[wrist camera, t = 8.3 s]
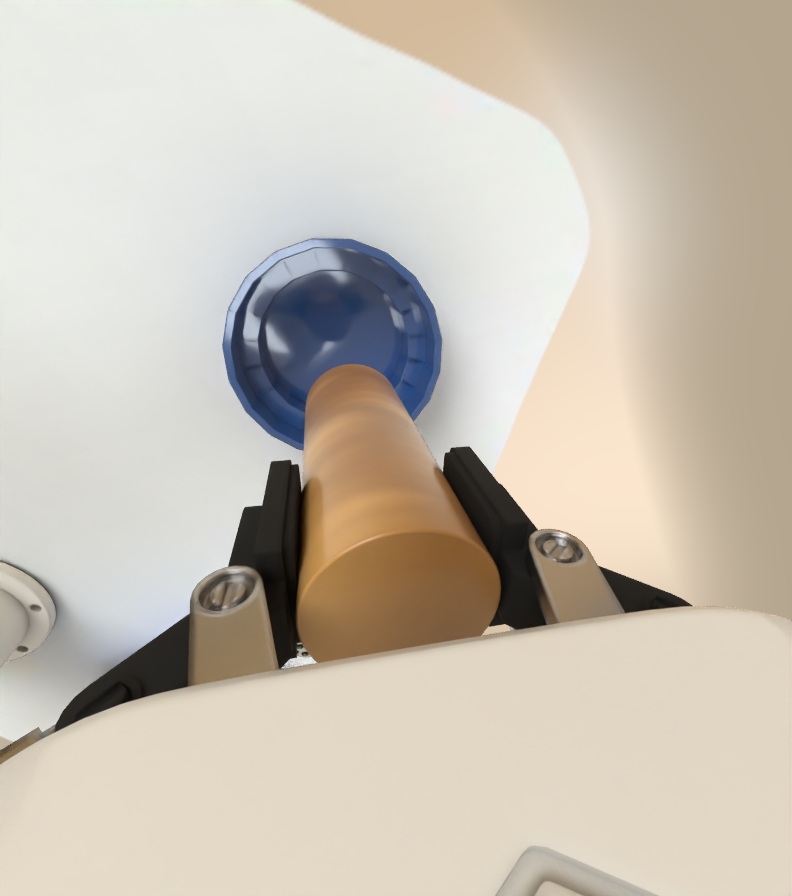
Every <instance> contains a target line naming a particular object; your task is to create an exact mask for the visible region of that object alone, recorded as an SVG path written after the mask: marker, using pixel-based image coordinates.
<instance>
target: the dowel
mask: <svg viewBox="0 0 792 896" xmlns="http://www.w3.org/2000/svg"><path fill="white" fill-rule="evenodd" d="M500 595H501V580H500V575H499V571H498V568H497V566H496V564H495V562H494V560H493V558H492V557H491V555H490V553H489V551H488V550H487V548H486V546H485V545H484V543H483V541H482V539H481V538H480V536H479V534H478V533H477V531H476V529H475V527H474V526H473V524H472V522H471V520H470V519H469V517H468V515H467V514H466V512H465V510H464V508H463V507H462V505H461V503H460V501H459V500H458V498H457V496H456V495H455V493H454V491H453V489H452V488H451V486H450V484H449V482H448V481H447V479H446V477H445V476H444V474H443V472H442V470H441V469H440V467H439V465H438V464H437V462H436V460H435V458H434V457H433V455H432V453H431V451H430V450H429V448H428V446H427V445H426V443H425V441H424V439H423V438H422V436H421V434H420V432H419V431H418V429H417V427H416V426H415V424H414V422H413V420H412V419H411V417H410V415H409V413H408V412H407V410H406V408H405V407H404V405H403V403H402V401H401V400H400V398H399V396H398V395H397V393H396V391H395V389H394V388H393V386H392V384H391V383H390V382H389V380H388V379H387V378H386V377H385V376H384V375H383V374H381V373H380V372H378V371H377V370H375V369H373V368H371V367H368V366H364V365H359V364H347V365H341V366H338V367H335V368H332V369H330V370H329V371H327V372H325V373H324V374H323V375H321V376H320V377H319V378H318V379H317V380H316V381H315V383H314V384H313V385H312V387H311V389H310V391H309V393H308V396H307V400H306V408H305V429H304V450H303V472H302V497H301V519H300V540H299V562H298V584H297V598H296V629H297V632H298V636H299V639H300V641H301V643H302V645H303V647H304V648H305V650H306V651H307V652H308V654H309V655H310V656H311V657H312V658H313V659H314V660H315V661H316V662H318V663H321V662H327V661H332V660H338V659H344V658H350V657H356V656H362V655H368V654H374V653H379V652H385V651H391V650H397V649H404V648H410V647H416V646H422V645H428V644H434V643H440V642H446V641H452V640H458V639H464V638H470V637H477V636H481V635H482V634H483V633H484V631H485V630H486V629H487V627H488V626H489V624H490V623H491V621H492V619H493V618H494V616H495V613H496V611H497V609H498V605H499V601H500Z"/></svg>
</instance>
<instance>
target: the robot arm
mask: <svg viewBox="0 0 792 896" xmlns="http://www.w3.org/2000/svg"><path fill="white" fill-rule="evenodd" d="M443 474H444V476H445V477H446V479H447V481H448V482H449V484H450V486H451V488H452V489H453V491H454V493H455V495H456V496H457V498H458V500H459V501H460V503H461V505H462V507H463V508H464V510H465V512H466V514H467V515H468V517H469V519H470V520H471V522H472V524H473V526H474V527H475V529H476V531H477V533H478V534H479V536H480V538H481V539H482V541H483V543H484V545H485V546H486V548H487V550H488V551H489V553H490V555H491V557H492V558H493V560H494V562H495V564H496V566H497V568H498V571H499V575H500V580H501V595H500V601H499V605H498V609H497V611H496V613H495V616H494V618H493V619H492V621H491V623H490V624H489V626H496V625H502V624H506V625H508V626H510V631H508V632H501V633H496V634H489V635H483V636H477V637H470V638H464V639H458V640H452V641H446V642H440V643H434V644H428V645H422V646H416V647H410V648H404V649H397V650H391V651H385V652H379V653H374V654H368V655H362V656H356V657H350V658H344V659H338V660H332V661H327V662H321V663H315V664H309V665H303V666H297V667H291V668H285V669H280V668H281V667H282V666H283V665H284V664H285V663H286V662H287V661H288V660H289V659H291V658H297V643H301V641H300V639H299V636H298V632H297V629H296V598H297V584H298V562H299V540H300V519H301V497H302V491H301V482H300V473H299V466H298V464H295V465H292V464H291V460H285V461H272V462H271V465H270V470H269V475H268V480H267V485H266V490H265V495H264V500H263V505H262V506H252V507H245V508H244V510H243V513H242V517H241V520H240V524H239V528H238V532H237V535H236V539H235V543H234V547H233V550H232V554H231V558H230V562H229V565H228V567H225V568H222V569H220V570H217V571H215V572H213V573H211V574H210V575H208V576H206V577H205V578H204V579H203V580H202V581H200V582H199V583H198V584H197V586H196V587H195V589H194V590H193V592H192V596H191V600H190V614H188V615H187V616H186V617H184V618H183V619H181V620H180V621H179V622H177V623H176V624H174V625H173V626H172V627H170V628H169V629H167V630H166V631H165V632H163V633H162V634H160V635H159V636H158V637H156V638H155V639H153V640H152V641H151V642H149V643H148V644H146V645H145V646H144V647H142V648H141V649H139V650H138V651H137V652H135V653H134V654H132V655H131V656H130V657H128V658H127V659H125V660H124V661H123V662H121V663H120V664H118V665H117V666H116V667H114V668H113V669H111V670H110V671H109V672H107V673H106V674H104V675H103V676H102V677H100V678H99V679H97V680H96V681H95V682H93V683H92V684H90V685H89V686H88V687H86V688H85V689H84V690H83V691H82V692H80V693H79V694H78V695H77V696H76V697H75V698H74V699H73V700H72V701H71V702H70V703H69V705H68V706H67V707H66V708H65V709H64V710H63V712H62V714H61V716H60V718H59V720H58V721H57V723H56V724H55V725H54V726H52V727H51V728H49V729H47V730H46V731H44V732H41V730H40V729H39V727H38V728H36V729H35V730H33V731H31V732H30V733H28V734H26V735H25V736H23V737H22V738H20V739H18V740H17V741H15V742H13V743H12V744H10V745H8V746H7V747H5V748H4V749H2V750H0V896H792V621H791V620H788V619H785V618H782V617H779V616H775V615H771V614H767V613H762V612H756V611H750V610H745V609H739V608H733V607H717V606H692V605H690V604H689V603H688V602H686V601H685V600H683V599H681V598H679V597H677V596H675V595H673V594H671V593H668V592H665V591H663V590H660V589H658V588H655V587H652V586H650V585H647V584H644V583H642V582H639V581H637V580H634V579H631V578H629V577H626V576H624V575H621V574H618V573H616V572H613V571H611V570H608V569H605V568H603V567H600V566H598V565H597V563H596V562H595V560H594V558H593V556H592V555H591V553H590V551H589V549H588V548H587V547H586V545H585V544H584V543H583V542H582V541H581V540H579V539H578V538H576V537H575V536H573V535H571V534H569V533H566V532H563V531H560V530H554V529H541V530H538V529H537V528H536V527H535V526H534V524H533V523H532V522H531V521H530V519H529V518H528V517H527V516H526V515H525V513H524V512H523V511H522V509H521V508H520V507H519V506H518V504H517V503H516V502H515V501H514V499H513V498H512V497H511V496H510V495H509V493H508V492H507V491H506V489H505V488H504V487H503V486H502V485H501V484H499V483H498V482H497V481H496V479H495V478H494V477H493V476H492V474H491V473H490V472H489V471H488V469H487V468H486V467H485V465H484V464H483V463H482V462H481V460H480V459H479V458H478V457H477V455H476V454H475V453H474V452H473V450H472V449H471V448H470V447H456V448H451V450H450V452H448V453H445V456H444V467H443ZM55 618H56V612H55V606H54V603H53V601H52V599H51V597H50V595H49V594H48V593H47V592H46V590H45V589H44V588H43V587H42V586H41V585H40V584H39V583H38V582H37V581H36V580H34V579H33V578H32V577H30V576H29V575H27V574H25V573H24V572H22V571H21V570H19V569H17V568H14V567H12V566H10V565H8V564H5V563H3V562H0V669H1V667H2V666H3V665H4V663H5V662H8V661H12V660H14V659H17V658H20V657H23V656H25V655H27V654H28V653H30V652H32V651H34V650H35V649H36V648H37V647H39V646H40V645H41V644H42V643H43V642H44V640H45V639H46V637H47V636H48V635H49V633H50V632H51V630H52V628H53V626H54V624H55ZM279 669H280V670H279Z"/></svg>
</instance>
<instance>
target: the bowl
mask: <svg viewBox="0 0 792 896" xmlns="http://www.w3.org/2000/svg"><path fill="white" fill-rule="evenodd" d="M222 345H223V353H224V358H225V363H226V368H227V374H228V379H229V382H230V384H231V386H232V388H233V390H234V391H235V393H236V395H237V397H238V399H239V400H240V402H241V404H242V406H243V408H244V409H245V411H246V412H247V413H248V414H249V415H250V416H251V417H252V418H253V419H254V420H255V421H256V422H257V423H258V424H259V425H260V426H261V427H262V428H263V429H264V430H265V431H266V432H267V433H268V434H270V435H271V436H273V437H275V438H277V439H279V440H281V441H283V442H285V443H287V444H289V445H291V446H293V447H295V448H296V449H299V450H304V429H305V408H306V400H307V396H308V393H309V391H310V389H311V387H312V385H313V384H314V383H315V381H316V380H317V379H318V378H319V377H320V376H321V375H323V374H324V373H325V372H327V371H329V370H330V369H332V368H335V367H338V366H341V365H347V364H359V365H364V366H368V367H371V368H373V369H375V370H377V371H378V372H380V373H381V374H383V375H384V376H385V377H386V378H387V379H388V380H389V382H390V383H391V384H392V386H393V388H394V389H395V391H396V393H397V395H398V396H399V398H400V400H401V401H402V403H403V405H404V407H405V408H406V410H407V412H408V413H409V415H410V417H411V419H412V420H413V421H414V420H415V419H416V418H417V416H418V415H419V414H420V412H421V411H422V410H423V408H424V407H425V406H426V404H427V403H428V402H429V400H430V397H431V395H432V392H433V389H434V387H435V384H436V381H437V379H438V376H439V373H440V365H441V349H442V337H441V333H440V329H439V325H438V321H437V317H436V313H435V309H434V306H433V304H432V303H431V301H430V299H429V298H428V296H427V295H426V293H425V291H424V290H423V288H422V286H421V285H420V283H419V282H418V280H417V278H416V277H415V276H414V275H413V274H412V273H411V272H409V271H408V270H407V269H406V268H405V267H403V266H402V265H401V264H400V263H399V262H397V261H396V260H395V259H394V258H393V257H391V256H390V255H389V254H388V253H386V252H384V251H381V250H379V249H376V248H373V247H371V246H368V245H365V244H363V243H360V242H357V241H355V240H352V239H318V238H313V239H309V240H306V241H303V242H300V243H298V244H295V245H292V246H289V247H286V248H284V249H281V250H278V251H276V252H274V253H273V254H272V255H270V256H269V257H268V258H267V259H266V260H265V261H263V262H262V263H261V264H260V265H259V266H258V267H256V268H255V269H254V270H253V271H252V272H251V273H249V274H248V275H247V276H246V277H245V279H244V281H243V283H242V285H241V286H240V288H239V290H238V292H237V294H236V295H235V297H234V299H233V301H232V303H231V305H230V306H229V308H228V311H227V318H226V324H225V331H224V338H223V344H222Z"/></svg>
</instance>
